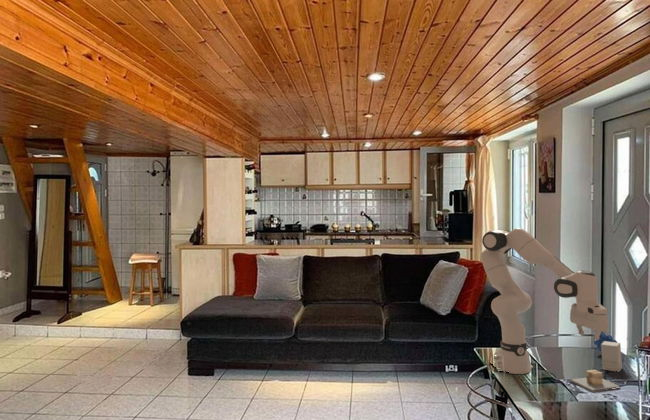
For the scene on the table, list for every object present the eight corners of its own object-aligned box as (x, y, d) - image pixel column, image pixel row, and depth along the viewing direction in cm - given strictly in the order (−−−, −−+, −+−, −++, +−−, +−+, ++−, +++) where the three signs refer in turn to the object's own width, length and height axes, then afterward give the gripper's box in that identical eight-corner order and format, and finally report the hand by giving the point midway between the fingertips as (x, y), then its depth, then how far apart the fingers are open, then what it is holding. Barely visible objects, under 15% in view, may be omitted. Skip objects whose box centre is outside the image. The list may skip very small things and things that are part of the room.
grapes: (594, 356, 259) (592, 334, 259) (594, 352, 265) (592, 331, 265) (619, 358, 254) (617, 335, 254) (618, 354, 259) (617, 332, 260)
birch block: (586, 381, 220) (586, 370, 221) (595, 380, 221) (594, 369, 221) (593, 384, 216) (593, 373, 216) (602, 383, 217) (602, 372, 217)
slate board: (570, 381, 224) (570, 379, 224) (597, 378, 227) (597, 376, 227) (592, 392, 210) (592, 389, 210) (620, 388, 213) (620, 386, 213)
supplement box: (622, 368, 239) (621, 342, 239) (619, 372, 233) (617, 346, 233) (605, 365, 244) (604, 340, 244) (602, 369, 238) (600, 344, 238)
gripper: (565, 303, 228) (567, 332, 228) (597, 311, 208) (599, 343, 208) (577, 302, 230) (578, 330, 230) (610, 310, 209) (611, 342, 209)
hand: (588, 336), depth 219 cm, fingers open, 8 cm apart
